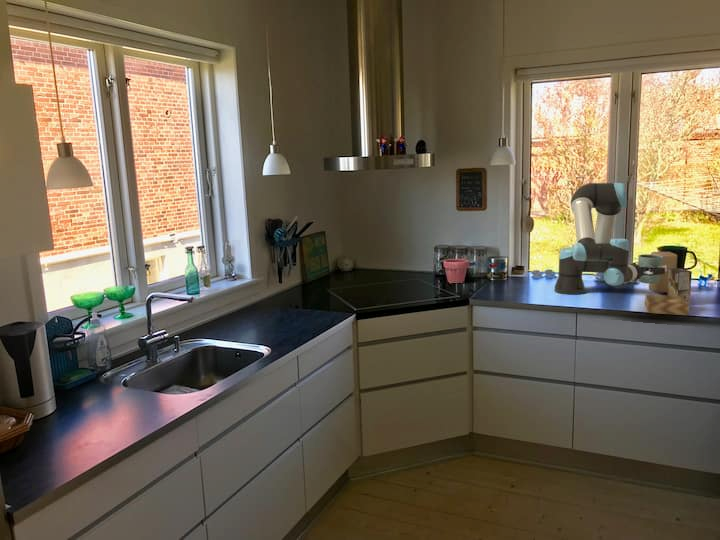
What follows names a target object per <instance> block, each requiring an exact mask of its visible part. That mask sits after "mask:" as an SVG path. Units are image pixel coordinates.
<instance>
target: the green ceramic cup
mask: <svg viewBox="0 0 720 540" xmlns="http://www.w3.org/2000/svg"><path fill="white" fill-rule="evenodd" d="M637 257H638V263H637V264H639V266H640V267H648V268H657V267H659V266H661V265H662V260H663V256H660V255H651V253H650V254H645V253H644V254H639V255H638V256H637ZM659 280H660V275H653V276H649V274H648V275H643V276H641V277H640V278H639V279H638V280H637V281H638V282H639V283H642V284H648V285H649V284H657V283H659Z"/></svg>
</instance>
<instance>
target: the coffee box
mask: <svg viewBox="0 0 720 540" xmlns="http://www.w3.org/2000/svg"><path fill="white" fill-rule="evenodd" d="M692 272H693V271H691V270H688V269H684V268H682V267H677V268H673V269H669V273H668V290H667V294H666V295H670V296H684V298H685V299H686V300H687V302H688V303H689V304H690V300H691V289H692V287H691V286H692V274H693V273H692Z"/></svg>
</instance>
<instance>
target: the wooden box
mask: <svg viewBox="0 0 720 540" xmlns="http://www.w3.org/2000/svg"><path fill="white" fill-rule="evenodd" d="M644 297H645V298H644V306H646V307H645V309H646V308H647V309H646V311H647V313H648V314H661V315H675V316H676V315H677V316H678V315H679V316H689V314H690V313H689V312H690V303H688V302H687V300H686V299H685V298H684V296H670V295H667V294H645V295H644Z"/></svg>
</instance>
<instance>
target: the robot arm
mask: <svg viewBox="0 0 720 540" xmlns="http://www.w3.org/2000/svg"><path fill="white" fill-rule="evenodd" d="M627 201H628V200H627V190H626V186H625V184H624V183H621V182H588V183H586V184H583V185H581V186H580V187H578V188H576V190H575V191H574V193H573V195H572V196H571V199H570V210H571V211H572V212H573V217H574V225H575V227H574V228H575V236H576V237H575V238H576V243H574V244H573V246H570V247H564V248H562V249H560V251H559V254H558V255H559V257H558V275H557V279H556V282H555V285H554V290H553V291H554V292H555V293H558V294H561V295H562V294H563V295H581V294H584V293H585V292H586V286H585V283H584V281H583V273H601V274H603V279H604V281H605V283H606V284H607V285H610V286H620V285H622V284H623V285H624V284H625V285H626V284H627V283H629V282H630V283H631V282H634V281H638V279H639V278H640V277H641V276H643V275H648V274H649V276H653V275H661V274H665V271H666V268H667V265H663V266H659V267H657V268H648V267H640V266H639V264H638V263H636V262H632V263H629V254H630V240H628V239H626V238H619V237H618V238H614V237H613V236H614V232H615V226H616V220H617V216H618V215H619V214H620V213H621V211H622V209H625V208H627V204H628V203H627ZM592 209H595V212H597V215H596V221H595V227H594V221H593V214H592V213H593V211H592Z"/></svg>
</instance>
